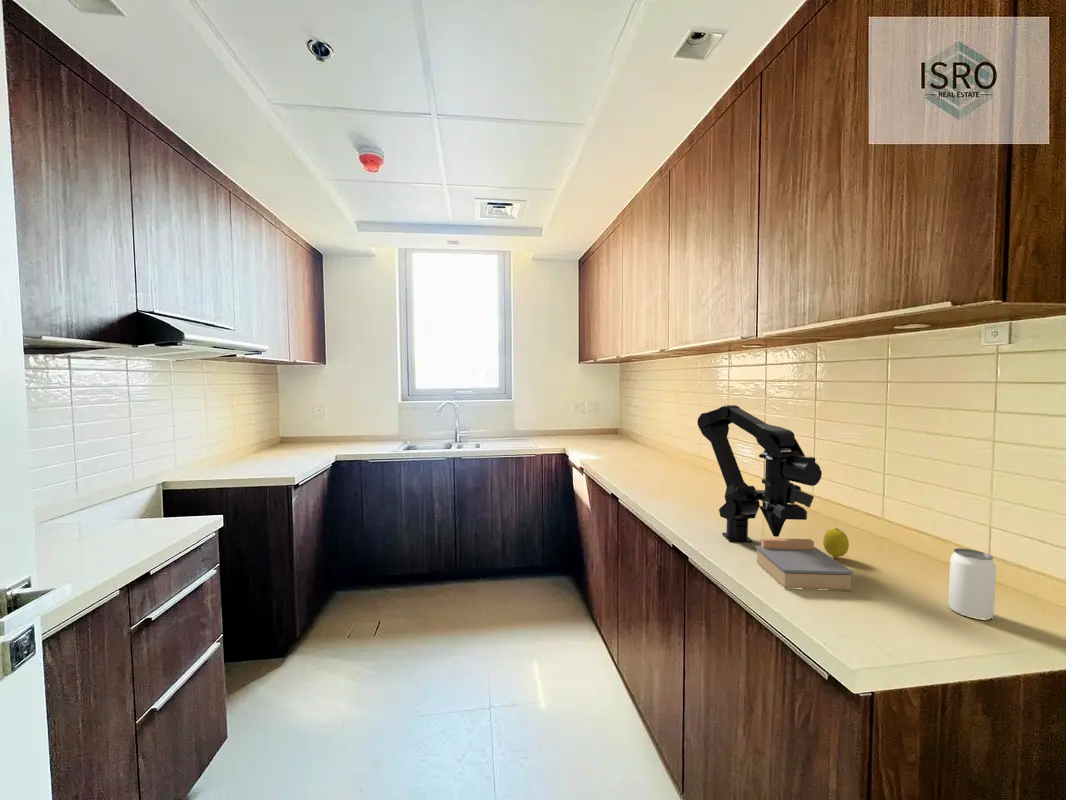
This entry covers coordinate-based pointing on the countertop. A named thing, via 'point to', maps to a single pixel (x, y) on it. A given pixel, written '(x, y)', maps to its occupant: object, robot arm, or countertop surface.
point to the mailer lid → (799, 557)
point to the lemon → (836, 542)
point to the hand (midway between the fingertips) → (775, 536)
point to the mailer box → (804, 577)
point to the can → (972, 583)
